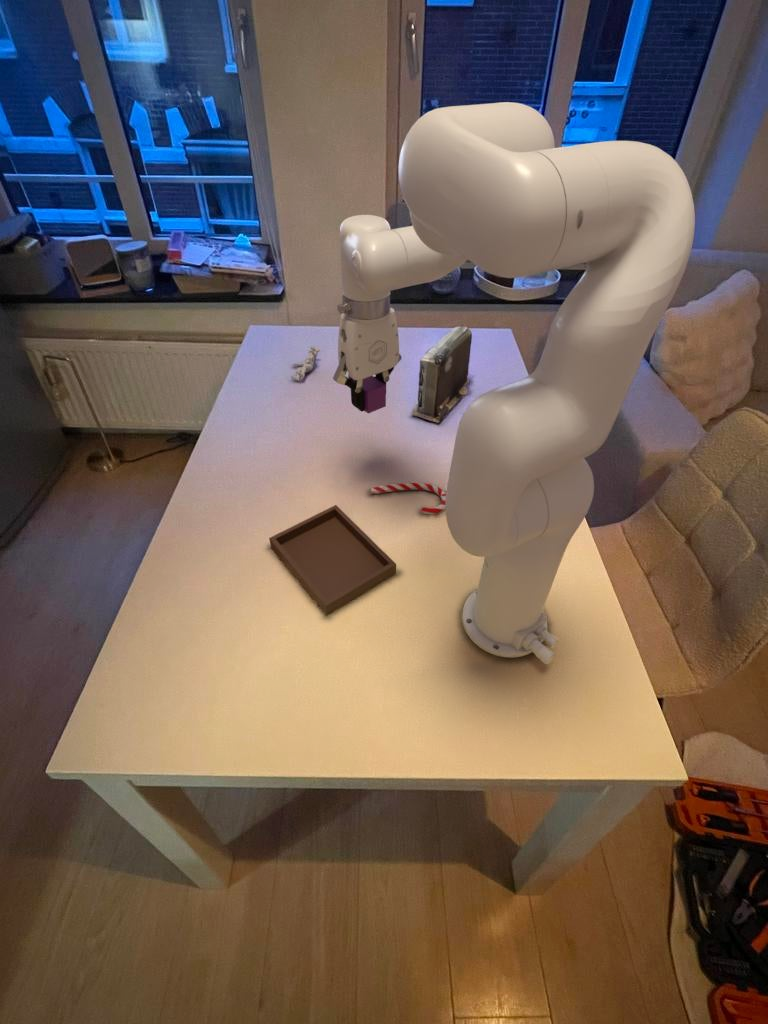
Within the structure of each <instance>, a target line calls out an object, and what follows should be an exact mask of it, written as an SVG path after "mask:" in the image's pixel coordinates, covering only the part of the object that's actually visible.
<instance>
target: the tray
mask: <svg viewBox="0 0 768 1024" xmlns="http://www.w3.org/2000/svg"><path fill="white" fill-rule="evenodd" d="M268 540H269V544H270V549H271V550H273V552H274V553H275V554H276V556H277V557H278V558H279V560H280V561H282V563H283V564H284V565H285V567H286V568H287V569H288V571H289V572H290V573H291V574H292V575H293V576H294V577H295V579H296V580H297V581H298V582H299V583H300V585H301V586H302V587H303V589H304V590H305V591H306V593H308V595H309V596H310V597H311V599H312V600H313V601H314V602H315V603H316V604H317V606H318V607H319V608H320V610H322V612H323V613H324V614H325V615H326V616H329V615H330V614H332V613H334V612H335V611H337V610H339V609H340V608H342V607H344V606H345V605H347V604H348V603H350V602H352V601H354V600H355V599H357V598H359V597H360V596H362V595H364V594H365V593H366V592H368V591H370V590H372V589H374V588H375V587H377V586H378V585H380V584H382V583H384V582H385V581H386V580H389V579H390V578H392V577H393V576H395V575H397V563H396V562H395V561H394V560H393V559H392V558H391V557H390V556H389V555H387V553H386V552H385V551H383V549H381V548H380V547H379V545H378V544H377V543H376V542H374V541H373V540H372V539H371V537H369V535H368V534H366V533H365V531H363V529H361V528H360V527H359V525H357V524H356V523H355V522H354V521H353V520H352V519H351V518H350V517H349V516H348V515H347V514H346V513H345V512H344V511H343V510H342V509H341V508H340V507H339V506H338V505H337V504H335V505H333V506H331V507H329V508H326V509H325V510H322V511H320V512H319V513H317V514H315V515H313V516H310V517H309V518H306V519H305V520H302V521H301V522H298V523H297V524H295V525H292V526H291V527H288V528H287V529H285V530H282V531H280V532H278V533H277V534H274V535H273V536H270V537H269V538H268Z"/></svg>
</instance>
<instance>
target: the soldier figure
mask: <svg viewBox="0 0 768 1024" xmlns="http://www.w3.org/2000/svg"><path fill="white" fill-rule="evenodd" d="M309 348H310V349H308V350H307V352H308V355H307V356H306V358H305V359H304V362H303V361H302V362H295V363H293V364H292V366H294V367H295V368H296V367H297V366H298V367H299V368H296V371H295V374H296V376H294V375H292V376H290V377H291V379H292V380H294V381H296V382H300V379H301V378H305V374H306V373H308V372H310V371H312V370H313V368H314V365H315V363H314V362H315V361H316V359H317V357H318V354H319V353H320V352H321V351H322V350H321V349H320V348H319V347H317V346H314V345H310V346H309Z"/></svg>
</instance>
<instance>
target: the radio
mask: <svg viewBox="0 0 768 1024" xmlns="http://www.w3.org/2000/svg"><path fill="white" fill-rule="evenodd" d="M472 340H473V333H472V331H471V330H470V328H469V327H467V326H466V325H464V324H460V325H459V326H455V327H453V328H452V329H451V330H449V331H448V332H447V333H446V334H445V335H444V336H443V337H442V338H441V339H440V340H438V341H437V342H436V344H435V345H434V346H432V347H431V348H429V349H428V350H426V352H425V354H424V355H423V356H422V357H421V358H420V360H419V372H418V392H417V404H416V405H415V406H414V407H413V409H412V411H411V413H412V414H411V415H412V416H415V417H419V418H422V419H425V420H428V421H430V422H434V423H440V422H441V421H442V420H443V419H444V418H445V417H446V416H447V415H448V414H449V413H450V412H451V411H452V410H453V409H454V408H455V406H456V405H457V404H458V403H459V402H460V401H461V400H462V399H463V398H464V397H465V396H466V395H467V394H468V389H467V385H468V384H469V382H470V380H469V379H468V376H469V367H470V360H471V359H470V358H471V350H472V349H471V347H472Z"/></svg>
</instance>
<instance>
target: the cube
mask: <svg viewBox="0 0 768 1024" xmlns="http://www.w3.org/2000/svg"><path fill="white" fill-rule="evenodd" d="M355 381H356V380H355ZM362 391H364V395H365V410H364V411H363V412H365V413H367V414H371V413H373V412H376V411H378V410H380V409H384V408H385V407H386V406H387V384H386V385H385V384H384V383H382V382H381V381H379V380H378V379H376V378H375V376H374V375H373V376H370V377H367V378H364V379H363V384H362Z"/></svg>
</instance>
